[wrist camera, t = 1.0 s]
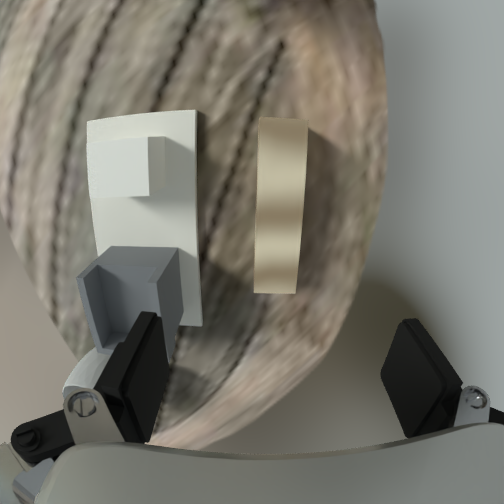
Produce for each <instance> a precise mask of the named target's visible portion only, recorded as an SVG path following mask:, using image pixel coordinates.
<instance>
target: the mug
mask: <svg viewBox="0 0 504 504" xmlns="http://www.w3.org/2000/svg"><path fill="white" fill-rule="evenodd" d="M110 356H111V355H106V354H100V353H98V352H97V349H96V347H95V348H94V349H92V350H91V351H90V352H89V353H87V354H86V355H85V356H84V357H83V358H82V359H81V360H80V361H79V363H78V364H77V365H76V367H75V368H74V370H73V371H72V372H71V374H70V376H69V377H68V379H67V381H66V383H65V385H64V387H63V390H62V394H63V397H64V399H65V398H66V397H67V395H68V394H70V393H71V392H72V391H74V390H76V389H80V388H91V389H93V388H94V386H95V384H96V382H97V380H98V379H99V377H100V375H101V373H102V371H103V369H104V367H105V366H106V364H107V362H108V360H109V358H110Z"/></svg>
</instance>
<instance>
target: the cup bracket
mask: <svg viewBox="0 0 504 504" xmlns="http://www.w3.org/2000/svg"><path fill="white" fill-rule="evenodd" d="M87 166H88V182H89V194H90V198H91V208H92V217H93V225H94V232H95V239H96V246H97V252H98V258H97V259H96V260H95V261H94V262H93V263H91V264H90V265H89V266H88V267H87V268H86V269H85V270H84V271H83V272H82V273H81V274H80V275H79V276H77V277H76V279H77V283H78V287H79V292H80V295H81V299H82V303H83V307H84V310H85V314H86V318H87V321H88V324H89V328H90V331H91V334H92V337H93V340H94V343H95V346H96V349H97V352H98V353H100V354H106V355H112V353H113V351H114V349H115V347H116V346H117V344H118V343H119V342H124V341H125V339H126V337H127V335H128V334H129V332H130V330H131V328H132V326H133V325H134V323H135V321H136V319H137V318H138V316H139V314H140V312H141V311H147V312H156V313H157V316H160V317H161V318H162V323H163V330H164V337H165V344H166V351H167V357H168V363H169V362H170V359H171V356H172V353H173V350H174V347H175V335H176V332H177V330H178V327H179V325H185V326H202V323H203V316H202V302H201V286H200V267H199V245H198V214H197V110H180V111H166V112H154V113H143V114H134V115H126V116H118V117H111V118H104V119H98V120H92V121H87Z"/></svg>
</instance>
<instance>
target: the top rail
mask: <svg viewBox="0 0 504 504" xmlns="http://www.w3.org/2000/svg"><path fill="white" fill-rule="evenodd" d="M307 142H308V120H303V119H290V118H273V117H260V118H259V131H258V163H257V193H256V224H255V253H254V293H283V294H295V293H296V284H297V274H298V264H299V254H300V243H301V232H302V220H303V207H304V193H305V178H306V161H307Z"/></svg>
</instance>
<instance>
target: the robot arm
mask: <svg viewBox="0 0 504 504" xmlns="http://www.w3.org/2000/svg"><path fill="white" fill-rule="evenodd" d="M168 377H169V363H168V357H167V351H166V344H165V337H164V330H163V323H162V318H161V317H160V316H157V313H156V312H147V311H141V312H140V314H139V316H138V318H137V319H136V321H135V323H134V325H133V326H132V328H131V330H130V332H129V334H128V335H127V337H126V339H125V341H124V342H119V343H118V344H117V346H116V347H115V349H114V351H113V353H112V355H111V356H110V358H109V360H108V362H107V364H106V366H105V367H104V369H103V371H102V373H101V375H100V377H99V379H98V380H97V382H96V384H95V386H94V388H93V389H91V388H80V389H76V390H74V391H72V392H71V393H70V394H68V395H67V397H66V398H65V400H64V404H63V408H64V409H63V410H60V411H58V412H55V413H52V414H49V415H46V416H44V417H41V418H38V419H35V420H32V421H30V422H26V423H23V424H21V425H19V426H18V427H17V428H16V429H14V431H13V433H12V436H11V442H10V443H9V444H6V442H4V443H2V444H1V445H0V504H34V500H35V496H36V495H37V494H38V493H39V494H38V496H37V499H36V502H35V504H504V412H501V411H498V410H496V409H494V408H491V407H490V398H489V397H488V394H487V393H486V392H485V391H484V390H483V389H481V388H479V387H477V386H467V387H465V388H464V389H463V390H462V388H461V385H462V384H463V382H462V380H461V379H460V378H459V376H458V375H457V373H456V372H455V370H454V369H453V367H452V366H451V365H450V363H449V361H448V360H447V358H446V357H445V356H444V354H443V353H442V351H441V350H440V349H439V347H438V346H437V345H436V343H435V342H434V340H433V339H432V337H431V336H430V335H429V333H428V332H427V331H426V329H425V328H424V327H423V325H422V324H421V323H420V321H419V320H418V319H416V318H414V319H404V320H403V321H402V323H400V324H399V325H398V328H397V331H396V333H395V336H394V339H393V342H392V344H391V347H390V349H389V352H388V355H387V357H386V360H385V362H384V365H383V367H382V369H381V379H382V382H383V384H384V386H385V389H386V391H387V393H388V395H389V397H390V400H391V402H392V405H393V407H394V409H395V412H396V414H397V417H398V419H399V421H400V424H401V426H402V429H403V431H404V434H405V436H406V437H407V438H408V439H404V440H399V441H394V442H389V443H384V444H379V445H372V446H366V447H360V448H352V449H345V450H336V451H326V452H314V453H298V454H234V453H218V452H206V451H195V450H185V449H177V448H169V447H162V446H155V445H147V444H144V443H145V442H147V443H148V442H149V441H150V438H151V435H152V431H153V428H154V424H155V421H156V417H157V414H158V410H159V407H160V403H161V400H162V397H163V393H164V390H165V387H166V383H167V380H168Z"/></svg>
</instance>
